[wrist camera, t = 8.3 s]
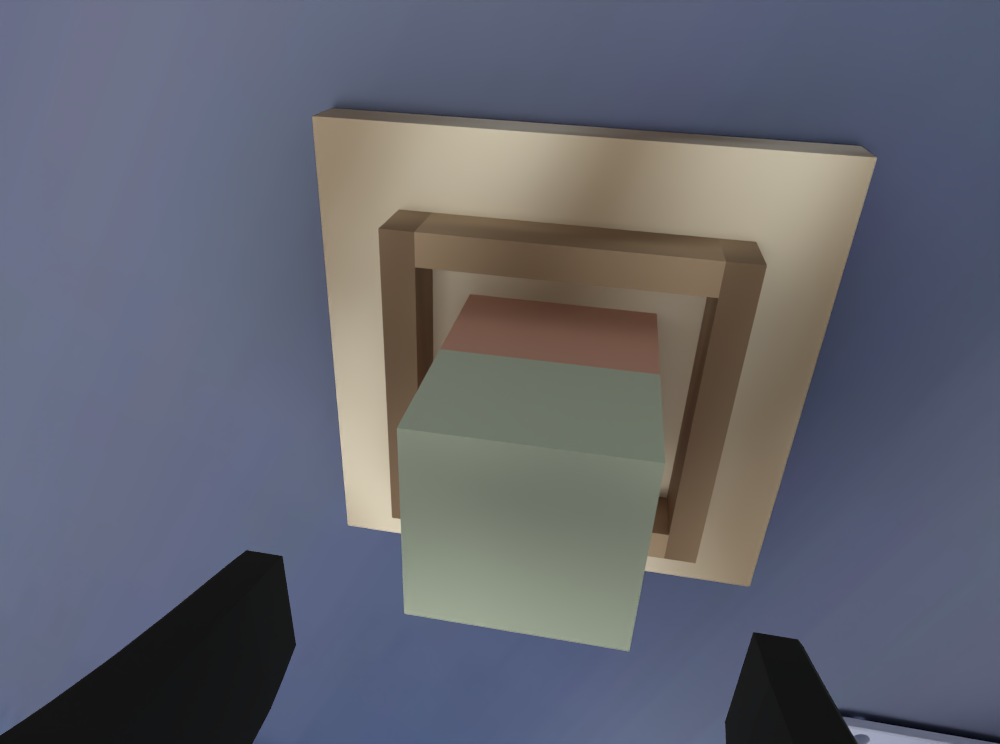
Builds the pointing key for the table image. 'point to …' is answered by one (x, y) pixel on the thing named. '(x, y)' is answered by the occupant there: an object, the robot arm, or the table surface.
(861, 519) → the table surface
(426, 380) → the green and red block
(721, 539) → the socket plate
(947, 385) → the table surface
